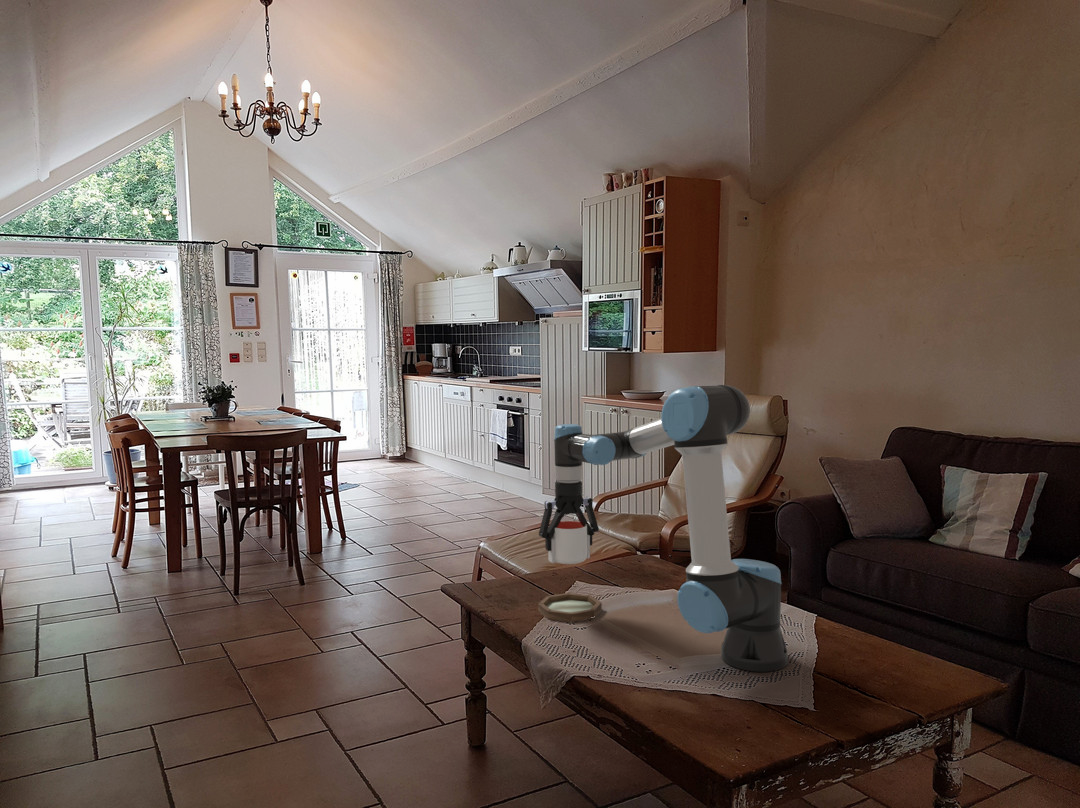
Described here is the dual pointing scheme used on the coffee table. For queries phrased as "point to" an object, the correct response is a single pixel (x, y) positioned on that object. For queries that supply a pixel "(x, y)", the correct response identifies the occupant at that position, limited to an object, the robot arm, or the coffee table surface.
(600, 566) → the coffee table surface
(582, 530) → the cup
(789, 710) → the coffee table surface
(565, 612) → the tray
